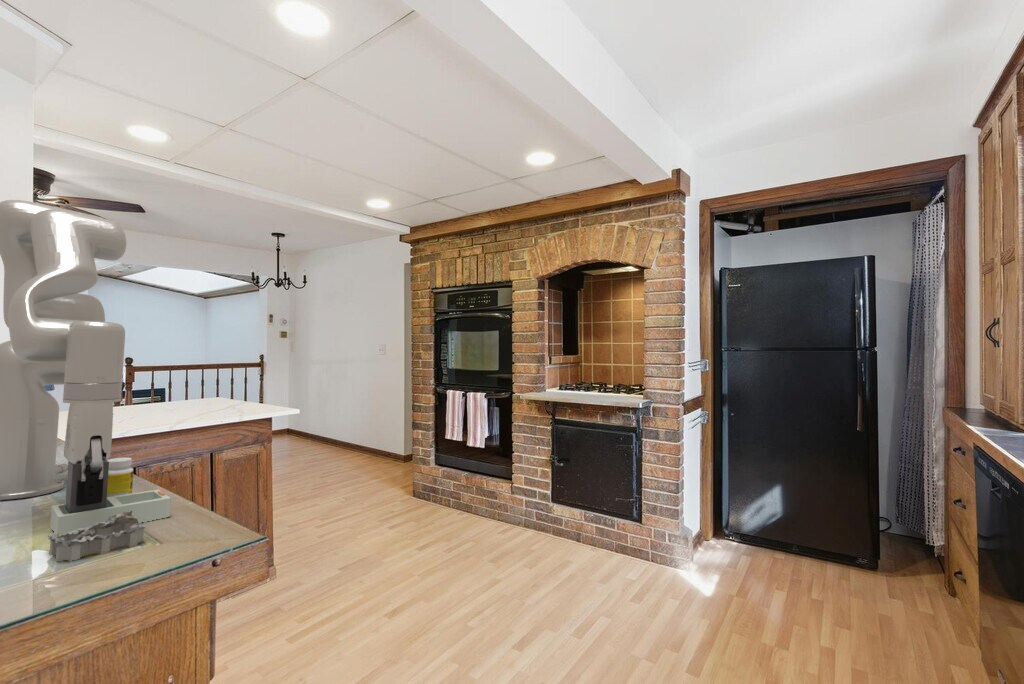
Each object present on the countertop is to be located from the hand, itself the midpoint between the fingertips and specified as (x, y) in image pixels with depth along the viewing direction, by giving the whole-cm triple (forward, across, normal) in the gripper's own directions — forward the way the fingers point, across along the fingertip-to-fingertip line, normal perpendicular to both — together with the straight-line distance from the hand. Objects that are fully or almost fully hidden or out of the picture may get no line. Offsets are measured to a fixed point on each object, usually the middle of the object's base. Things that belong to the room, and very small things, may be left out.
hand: (86, 499), depth 81 cm
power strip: (+5, 0, +4) cm, 6 cm away
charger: (+2, 0, 0) cm, 2 cm away
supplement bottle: (+5, -13, +6) cm, 15 cm away
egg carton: (+5, +12, 0) cm, 13 cm away
